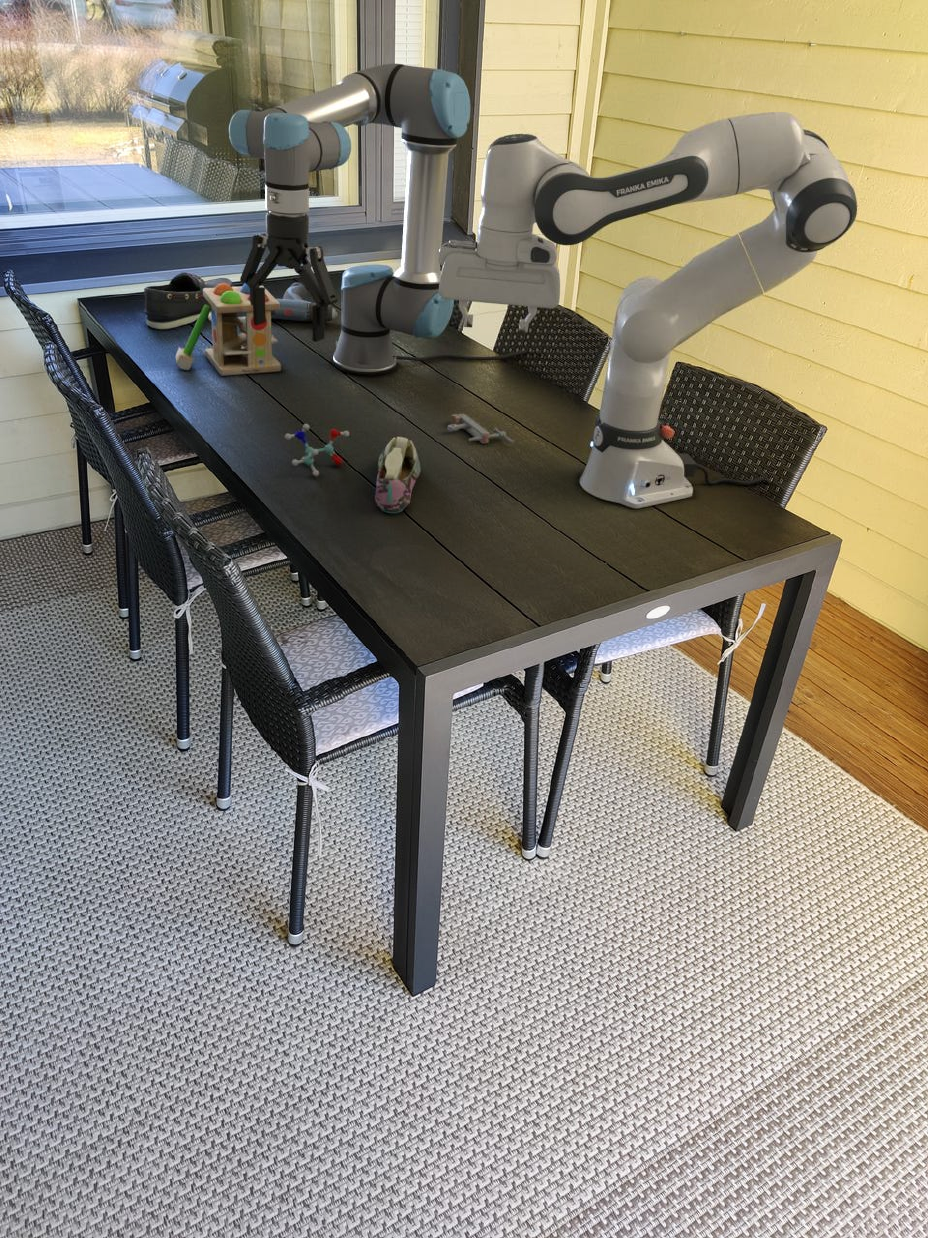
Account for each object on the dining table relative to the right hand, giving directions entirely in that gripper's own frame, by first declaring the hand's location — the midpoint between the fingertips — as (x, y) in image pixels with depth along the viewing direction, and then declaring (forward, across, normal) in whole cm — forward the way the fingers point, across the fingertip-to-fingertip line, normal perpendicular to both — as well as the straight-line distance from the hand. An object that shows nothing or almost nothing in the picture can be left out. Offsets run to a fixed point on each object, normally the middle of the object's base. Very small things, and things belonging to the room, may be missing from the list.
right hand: (495, 328), depth 167 cm
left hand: (+9, -38, +16) cm, 43 cm away
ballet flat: (+32, -16, +2) cm, 36 cm away
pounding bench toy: (+32, -61, +56) cm, 89 cm away
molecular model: (+32, -32, +7) cm, 46 cm away
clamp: (+32, -1, +28) cm, 43 cm away
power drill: (+32, -49, +100) cm, 116 cm away
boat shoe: (+32, -78, +92) cm, 124 cm away
